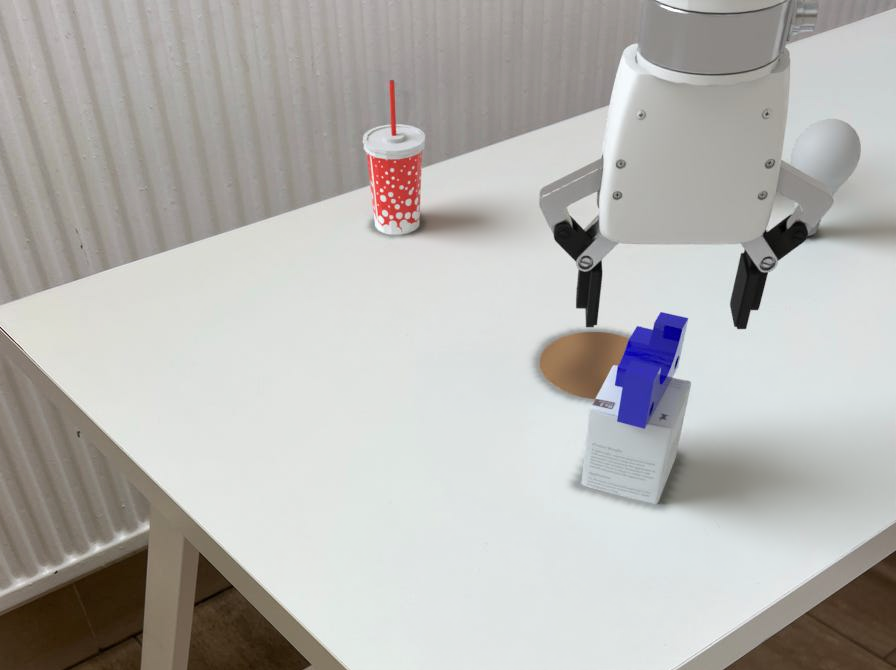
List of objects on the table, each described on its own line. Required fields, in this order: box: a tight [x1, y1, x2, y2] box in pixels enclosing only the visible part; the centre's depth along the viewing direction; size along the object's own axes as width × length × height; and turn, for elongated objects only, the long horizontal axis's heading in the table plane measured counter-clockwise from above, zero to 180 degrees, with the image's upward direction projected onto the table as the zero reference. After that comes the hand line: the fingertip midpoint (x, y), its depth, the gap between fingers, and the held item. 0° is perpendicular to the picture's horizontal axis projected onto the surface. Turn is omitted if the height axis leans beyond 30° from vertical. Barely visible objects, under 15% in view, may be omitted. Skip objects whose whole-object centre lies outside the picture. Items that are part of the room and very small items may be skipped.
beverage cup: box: [362, 79, 426, 236], centre depth 96 cm, size 6×6×14 cm
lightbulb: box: [790, 118, 862, 237], centre depth 93 cm, size 6×6×11 cm
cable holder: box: [615, 311, 689, 429], centre depth 68 cm, size 8×4×4 cm, turn 154°
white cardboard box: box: [581, 365, 692, 505], centre depth 72 cm, size 6×6×7 cm
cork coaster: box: [538, 331, 630, 400], centre depth 84 cm, size 10×10×1 cm
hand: (663, 316), depth 65 cm, fingers open, 9 cm apart
